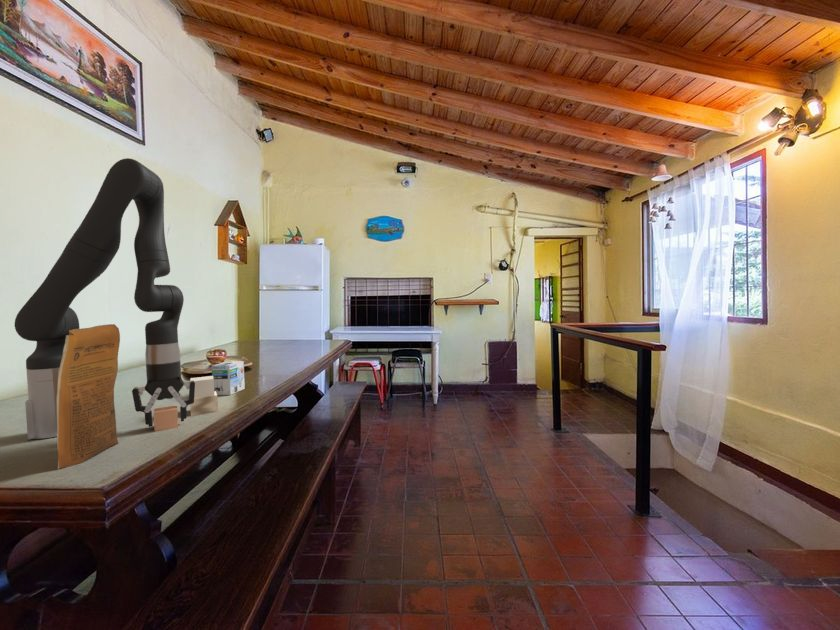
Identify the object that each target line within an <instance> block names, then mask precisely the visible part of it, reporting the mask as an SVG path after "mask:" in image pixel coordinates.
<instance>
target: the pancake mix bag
mask: <svg viewBox="0 0 840 630" xmlns="http://www.w3.org/2000/svg"><path fill="white" fill-rule="evenodd" d="M119 329H120V328H119V327H118V326H117V325H116V324H115V323H113V324H112V323H111V324H102V325H101V324H100V325H94V326H91V327H84V328H83V327H82V328H79V329H73V330H69V335H66V340H65V345H64V349H63V356H62V360H61V364H60V370H59V376H58V385H57V436H56V439H57V440H56V441H57V443H56V446H57V448H56V449H57V453H58V454H57V470H58V469H62V468H68V467H72V466H75V465H76V466H77V465H79V464H81V463H84V461H85V462H87V461H88V459H89V460H90V459H92V458H94V457H95V456H97V455H99V454H101V453H103V452H105V451H106V450H108V449H110V448H111V446H112V447H114V446H115V445H117V444H119V439H118V431H117V418H116V409H115V386H116V380H117V376H118V368H119V367H118V366H119V360H118V359H119V357H118V356H119V349H120V344H121V343H120V342H121V335H120V334H121V332H120V330H119ZM109 447H110V448H109ZM102 451H103V452H102ZM100 452H101V453H100ZM98 453H99V454H98ZM93 456H94V457H93ZM91 457H92V458H91ZM86 460H87V461H86Z"/></svg>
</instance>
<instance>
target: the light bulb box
mask: <svg viewBox="0 0 840 630" xmlns="http://www.w3.org/2000/svg"><path fill="white" fill-rule="evenodd" d="M244 363H245V362H244V360H226V361H224V362H219V363H217V364H214V365H211V376H213V378H214V391H216V393H217V396H231V395H234V394H236V393H238V392H240V391H243V390H245V388H246V387H245V386H246V383H245V364H244Z"/></svg>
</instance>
